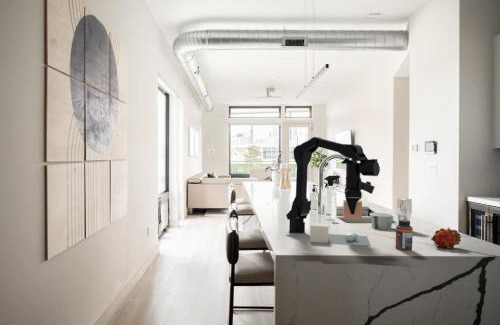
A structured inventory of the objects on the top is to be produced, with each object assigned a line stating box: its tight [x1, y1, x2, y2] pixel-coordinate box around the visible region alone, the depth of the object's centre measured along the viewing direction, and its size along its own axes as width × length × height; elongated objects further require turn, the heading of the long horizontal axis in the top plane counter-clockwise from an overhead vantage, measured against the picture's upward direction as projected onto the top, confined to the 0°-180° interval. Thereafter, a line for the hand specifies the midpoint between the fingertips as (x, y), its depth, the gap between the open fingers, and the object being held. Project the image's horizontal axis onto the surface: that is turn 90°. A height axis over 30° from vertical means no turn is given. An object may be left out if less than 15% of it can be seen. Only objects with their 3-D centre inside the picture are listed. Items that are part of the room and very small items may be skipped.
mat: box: [308, 233, 371, 247], centre depth 173 cm, size 24×21×1 cm
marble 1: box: [345, 233, 353, 241], centre depth 169 cm, size 3×3×3 cm
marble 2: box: [351, 232, 359, 241], centre depth 171 cm, size 3×3×3 cm
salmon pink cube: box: [342, 199, 363, 220], centre depth 169 cm, size 7×7×6 cm
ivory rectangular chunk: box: [309, 222, 330, 244], centre depth 169 cm, size 7×7×6 cm
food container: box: [369, 212, 395, 230], centre depth 207 cm, size 12×12×6 cm
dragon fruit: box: [431, 227, 462, 249], centre depth 162 cm, size 8×8×12 cm
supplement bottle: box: [395, 220, 414, 252], centre depth 157 cm, size 6×6×11 cm
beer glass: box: [396, 197, 413, 226], centre depth 201 cm, size 7×7×15 cm
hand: (352, 213), depth 169 cm, fingers closed on salmon pink cube, 7 cm apart
